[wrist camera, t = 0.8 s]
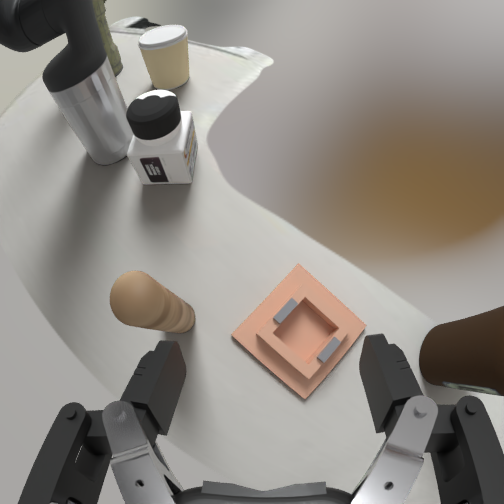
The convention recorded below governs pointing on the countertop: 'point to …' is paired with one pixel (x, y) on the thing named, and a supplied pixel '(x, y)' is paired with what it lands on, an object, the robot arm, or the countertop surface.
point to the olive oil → (466, 354)
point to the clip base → (300, 331)
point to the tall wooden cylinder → (149, 304)
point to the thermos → (107, 37)
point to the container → (161, 139)
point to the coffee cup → (166, 56)
